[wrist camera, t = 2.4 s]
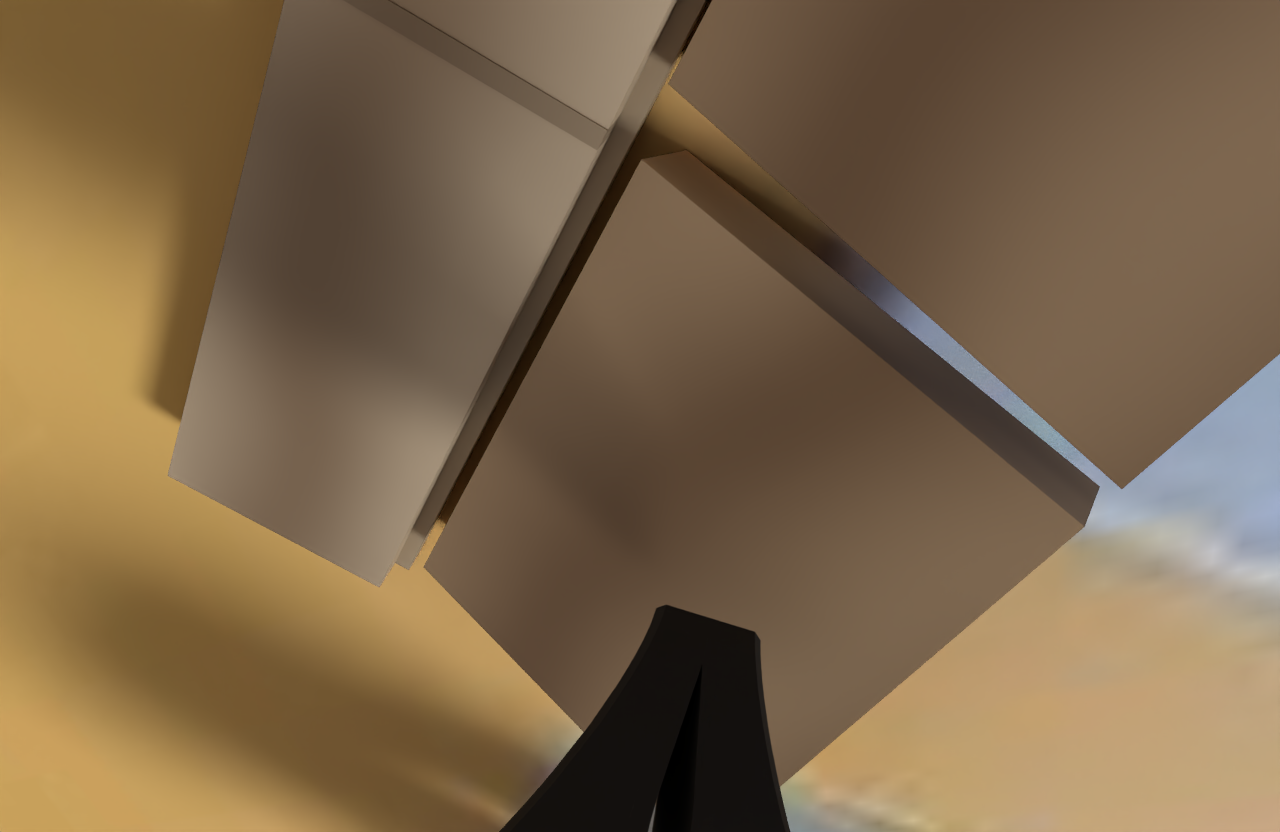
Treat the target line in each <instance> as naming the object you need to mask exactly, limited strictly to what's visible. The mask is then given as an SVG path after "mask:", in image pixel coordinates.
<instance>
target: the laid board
mask: <svg viewBox="0 0 1280 832" xmlns="http://www.w3.org/2000/svg"><path fill="white" fill-rule="evenodd" d="M707 1H708V0H284V4H283V8H282V12H281V16H280V20H279V24H278V28H277V32H276V36H275V40H274V44H273V48H272V52H271V57H270V61H269V65H268V69H267V73H266V77H265V81H264V85H263V89H262V93H261V97H260V101H259V105H258V109H257V114H256V118H255V122H254V126H253V130H252V134H251V138H250V142H249V146H248V150H247V154H246V158H245V162H244V166H243V171H242V175H241V179H240V183H239V187H238V191H237V195H236V199H235V203H234V207H233V211H232V215H231V219H230V224H229V228H228V232H227V236H226V240H225V244H224V248H223V252H222V256H221V260H220V264H219V268H218V272H217V276H216V281H215V285H214V289H213V293H212V297H211V301H210V305H209V309H208V313H207V317H206V321H205V325H204V329H203V334H202V338H201V342H200V346H199V350H198V354H197V358H196V362H195V366H194V370H193V374H192V378H191V382H190V386H189V391H188V395H187V399H186V403H185V407H184V411H183V415H182V419H181V423H180V427H179V431H178V435H177V439H176V444H175V448H174V452H173V456H172V460H171V464H170V468H169V472H168V476H169V477H171V478H173V479H175V480H177V481H179V482H181V483H183V484H184V485H186V486H188V487H190V488H192V489H194V490H196V491H198V492H200V493H202V494H203V495H205V496H207V497H209V498H211V499H213V500H215V501H217V502H219V503H220V504H222V505H224V506H226V507H228V508H230V509H232V510H234V511H236V512H237V513H239V514H241V515H243V516H245V517H247V518H249V519H251V520H253V521H255V522H256V523H258V524H260V525H262V526H264V527H266V528H268V529H270V530H272V531H273V532H275V533H277V534H279V535H281V536H283V537H285V538H287V539H289V540H290V541H292V542H294V543H296V544H298V545H300V546H302V547H304V548H306V549H308V550H309V551H311V552H313V553H315V554H317V555H319V556H321V557H323V558H325V559H326V560H328V561H330V562H332V563H334V564H336V565H338V566H340V567H342V568H343V569H345V570H347V571H349V572H351V573H353V574H355V575H357V576H359V577H360V578H362V579H364V580H366V581H368V582H370V583H372V584H374V585H376V586H378V587H380V586H381V584H382V582H383V581H384V579H385V578H386V576H387V575H388V573H389V572H390V570H391V568H392V567H393V565H394V564H395V563H396V564H398V565H400V566H402V567H404V568H406V569H408V570H409V569H410V567H411V566H412V564H413V562H414V561H415V559H416V557H417V556H418V554H419V552H420V551H421V549H422V547H423V545H424V543H425V541H426V539H427V537H428V535H429V533H430V531H431V529H432V528H433V526H434V524H435V522H436V520H437V518H438V516H439V514H440V512H441V510H442V508H443V507H444V505H445V503H446V501H447V499H448V497H449V495H450V493H451V491H452V489H453V487H454V485H455V484H456V482H457V480H458V478H459V476H460V474H461V472H462V470H463V468H464V466H465V464H466V463H467V461H468V459H469V457H470V455H471V453H472V451H473V449H474V447H475V445H476V443H477V441H478V440H479V438H480V436H481V434H482V432H483V430H484V428H485V426H486V424H487V422H488V420H489V418H490V417H491V415H492V413H493V411H494V409H495V407H496V405H497V403H498V401H499V399H500V397H501V396H502V394H503V392H504V390H505V388H506V386H507V384H508V382H509V380H510V378H511V376H512V374H513V373H514V371H515V369H516V367H517V365H518V363H519V361H520V359H521V357H522V355H523V353H524V351H525V350H526V348H527V346H528V344H529V342H530V340H531V338H532V336H533V334H534V332H535V330H536V329H537V327H538V325H539V323H540V321H541V319H542V317H543V315H544V313H545V311H546V309H547V307H548V306H549V304H550V302H551V300H552V298H553V296H554V294H555V292H556V290H557V288H558V286H559V285H560V283H561V281H562V279H563V277H564V275H565V273H566V271H567V269H568V267H569V265H570V263H571V262H572V260H573V258H574V256H575V254H576V252H577V250H578V248H579V246H580V244H581V242H582V240H583V239H584V237H585V235H586V233H587V231H588V229H589V227H590V225H591V223H592V221H593V219H594V218H595V216H596V214H597V212H598V210H599V208H600V206H601V204H602V202H603V200H604V198H605V196H606V195H607V193H608V191H609V189H610V187H611V185H612V183H613V181H614V179H615V177H616V175H617V174H618V172H619V170H620V168H621V166H622V164H623V162H624V160H625V158H626V156H627V154H628V152H629V151H630V149H631V147H632V145H633V143H634V141H635V139H636V137H637V135H638V133H639V131H640V129H641V128H642V126H643V124H644V122H645V120H646V118H647V116H648V114H649V112H650V110H651V108H652V107H653V105H654V103H655V101H656V99H657V97H658V95H659V93H660V91H661V89H662V87H663V85H664V84H665V82H666V80H667V78H668V76H669V74H670V72H671V70H672V68H673V66H674V64H675V62H676V61H677V59H678V57H679V55H680V53H681V51H682V49H683V47H684V45H685V43H686V41H687V40H688V38H689V36H690V34H691V32H692V30H693V28H694V26H695V24H696V22H697V20H698V18H699V17H700V15H701V13H702V11H703V9H704V7H705V5H706V3H707Z"/></svg>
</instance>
